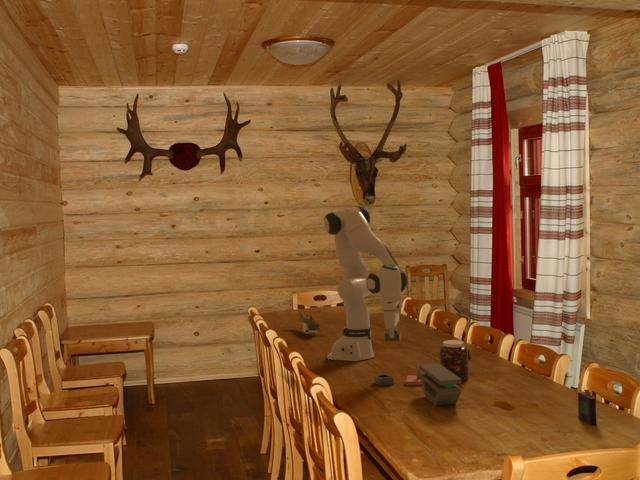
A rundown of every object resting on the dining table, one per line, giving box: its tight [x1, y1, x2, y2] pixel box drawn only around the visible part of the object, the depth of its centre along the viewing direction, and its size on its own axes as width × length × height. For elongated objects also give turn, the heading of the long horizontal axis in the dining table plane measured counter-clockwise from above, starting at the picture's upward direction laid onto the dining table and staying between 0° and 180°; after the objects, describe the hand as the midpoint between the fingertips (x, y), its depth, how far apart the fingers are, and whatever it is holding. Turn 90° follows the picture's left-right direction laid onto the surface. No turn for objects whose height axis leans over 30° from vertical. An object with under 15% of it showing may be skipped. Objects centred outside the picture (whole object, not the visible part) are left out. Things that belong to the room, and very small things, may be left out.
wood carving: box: [297, 309, 322, 333], centre depth 406 cm, size 9×35×11 cm, turn 18°
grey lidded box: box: [418, 362, 463, 407], centre depth 264 cm, size 25×8×11 cm, turn 9°
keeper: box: [404, 364, 423, 387], centre depth 291 cm, size 10×10×7 cm
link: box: [384, 330, 402, 342], centre depth 301 cm, size 6×6×3 cm
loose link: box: [373, 373, 394, 387], centre depth 291 cm, size 6×6×3 cm
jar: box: [439, 339, 470, 382], centre depth 295 cm, size 12×12×15 cm
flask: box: [577, 388, 598, 427], centre depth 234 cm, size 9×3×11 cm, turn 8°
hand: (393, 335), depth 301 cm, fingers closed on link, 6 cm apart
